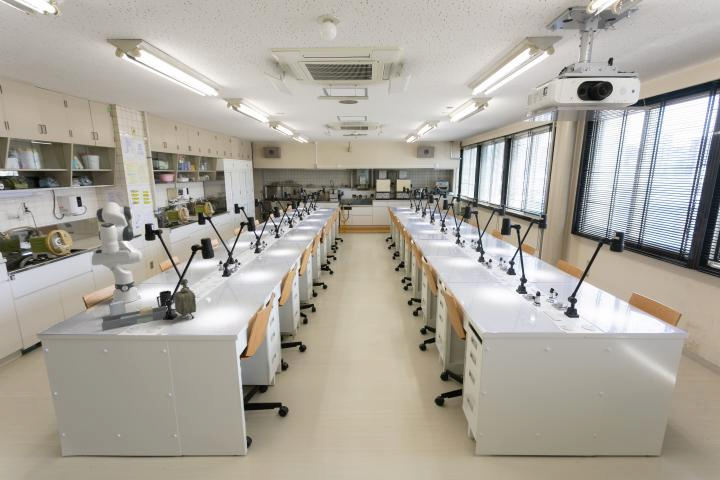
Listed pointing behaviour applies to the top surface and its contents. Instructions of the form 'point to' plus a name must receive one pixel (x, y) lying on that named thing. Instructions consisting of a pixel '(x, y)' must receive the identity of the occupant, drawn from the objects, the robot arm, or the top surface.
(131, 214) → the robot arm
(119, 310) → the medicine box
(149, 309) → the maple block
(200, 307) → the top surface
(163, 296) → the black mug
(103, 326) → the trap lane
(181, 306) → the olive backpack
